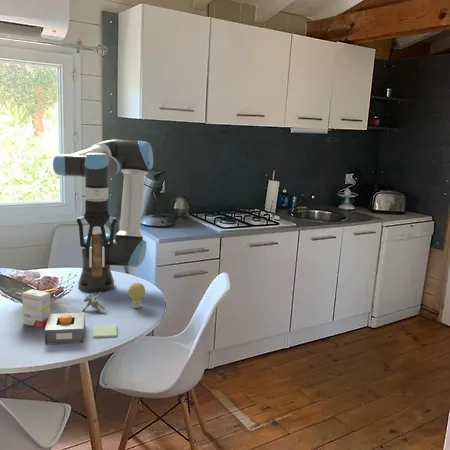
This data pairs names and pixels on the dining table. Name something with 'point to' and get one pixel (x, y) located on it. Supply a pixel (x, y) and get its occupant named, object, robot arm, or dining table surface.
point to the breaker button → (65, 319)
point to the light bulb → (136, 294)
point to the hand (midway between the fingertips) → (96, 265)
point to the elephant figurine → (94, 303)
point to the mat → (105, 331)
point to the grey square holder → (65, 329)
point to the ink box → (36, 308)
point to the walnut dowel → (96, 254)
